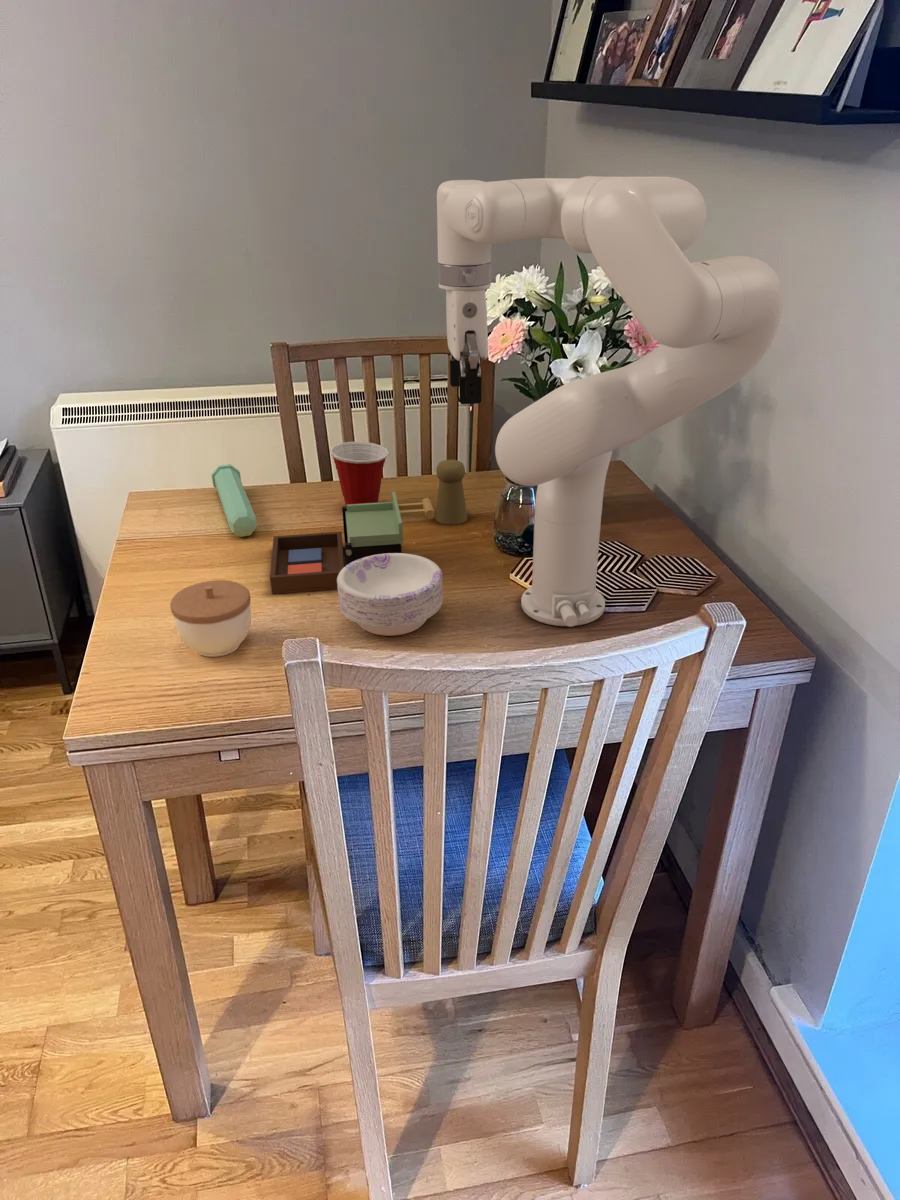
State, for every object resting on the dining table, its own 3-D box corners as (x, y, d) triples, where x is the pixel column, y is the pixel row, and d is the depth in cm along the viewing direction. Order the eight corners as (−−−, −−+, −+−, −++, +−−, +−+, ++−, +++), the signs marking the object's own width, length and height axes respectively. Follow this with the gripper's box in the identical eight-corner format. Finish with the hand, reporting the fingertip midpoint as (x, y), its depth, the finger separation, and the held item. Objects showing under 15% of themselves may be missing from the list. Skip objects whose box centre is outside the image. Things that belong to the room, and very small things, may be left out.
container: (251, 506, 152) (231, 458, 173) (221, 522, 152) (205, 472, 172) (267, 532, 156) (246, 482, 176) (238, 548, 155) (220, 496, 176)
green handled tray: (438, 541, 138) (438, 519, 136) (348, 547, 136) (346, 525, 134) (428, 508, 149) (428, 488, 147) (345, 514, 148) (344, 494, 146)
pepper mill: (468, 512, 164) (468, 456, 159) (466, 525, 159) (465, 468, 154) (436, 511, 165) (435, 455, 160) (433, 524, 160) (431, 467, 154)
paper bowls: (379, 587, 138) (376, 542, 134) (461, 610, 131) (461, 563, 128) (319, 630, 127) (314, 582, 123) (406, 658, 120) (404, 608, 116)
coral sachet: (287, 577, 139) (287, 582, 139) (322, 575, 139) (322, 579, 140) (287, 565, 143) (288, 569, 143) (321, 562, 143) (322, 566, 144)
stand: (404, 586, 138) (402, 543, 135) (348, 590, 137) (345, 547, 134) (395, 541, 153) (393, 501, 150) (345, 544, 152) (341, 504, 149)
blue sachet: (288, 561, 144) (288, 566, 144) (321, 559, 144) (322, 563, 145) (288, 549, 148) (289, 554, 148) (321, 547, 148) (321, 551, 149)
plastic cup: (389, 520, 161) (386, 458, 156) (331, 520, 162) (325, 459, 156) (393, 498, 171) (390, 439, 165) (338, 498, 171) (333, 439, 165)
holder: (346, 588, 138) (344, 571, 137) (272, 594, 137) (269, 577, 135) (342, 547, 152) (341, 531, 150) (275, 551, 150) (273, 536, 149)
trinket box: (259, 623, 129) (251, 567, 124) (253, 663, 120) (244, 603, 115) (185, 629, 128) (174, 572, 123) (173, 669, 118) (161, 609, 114)
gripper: (501, 284, 117) (500, 409, 126) (480, 266, 132) (479, 378, 141) (446, 286, 116) (448, 412, 125) (431, 268, 131) (433, 380, 140)
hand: (465, 394), depth 133 cm, fingers open, 9 cm apart
